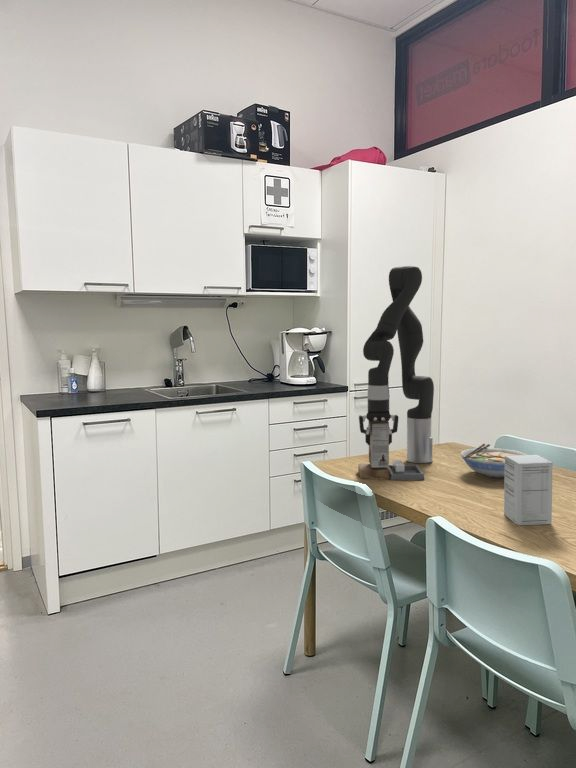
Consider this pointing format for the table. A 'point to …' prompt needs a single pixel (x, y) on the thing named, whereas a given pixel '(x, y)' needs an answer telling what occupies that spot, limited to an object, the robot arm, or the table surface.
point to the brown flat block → (373, 471)
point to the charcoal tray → (408, 473)
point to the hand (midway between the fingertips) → (378, 444)
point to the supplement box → (528, 490)
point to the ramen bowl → (488, 460)
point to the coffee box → (379, 444)
